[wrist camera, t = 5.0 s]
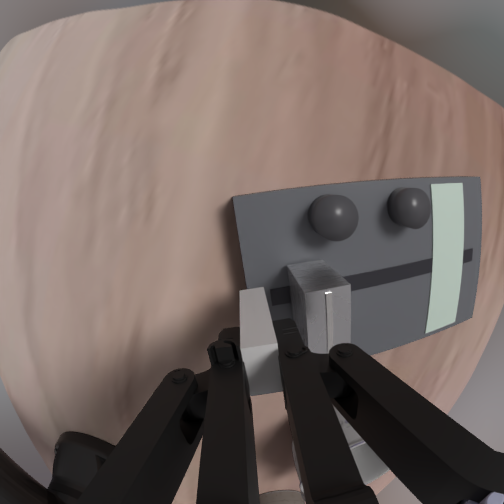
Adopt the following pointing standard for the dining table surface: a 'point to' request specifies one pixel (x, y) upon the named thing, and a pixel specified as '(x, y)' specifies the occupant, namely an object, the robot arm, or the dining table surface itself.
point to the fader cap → (320, 305)
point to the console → (372, 250)
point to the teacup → (355, 455)
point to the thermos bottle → (281, 497)
